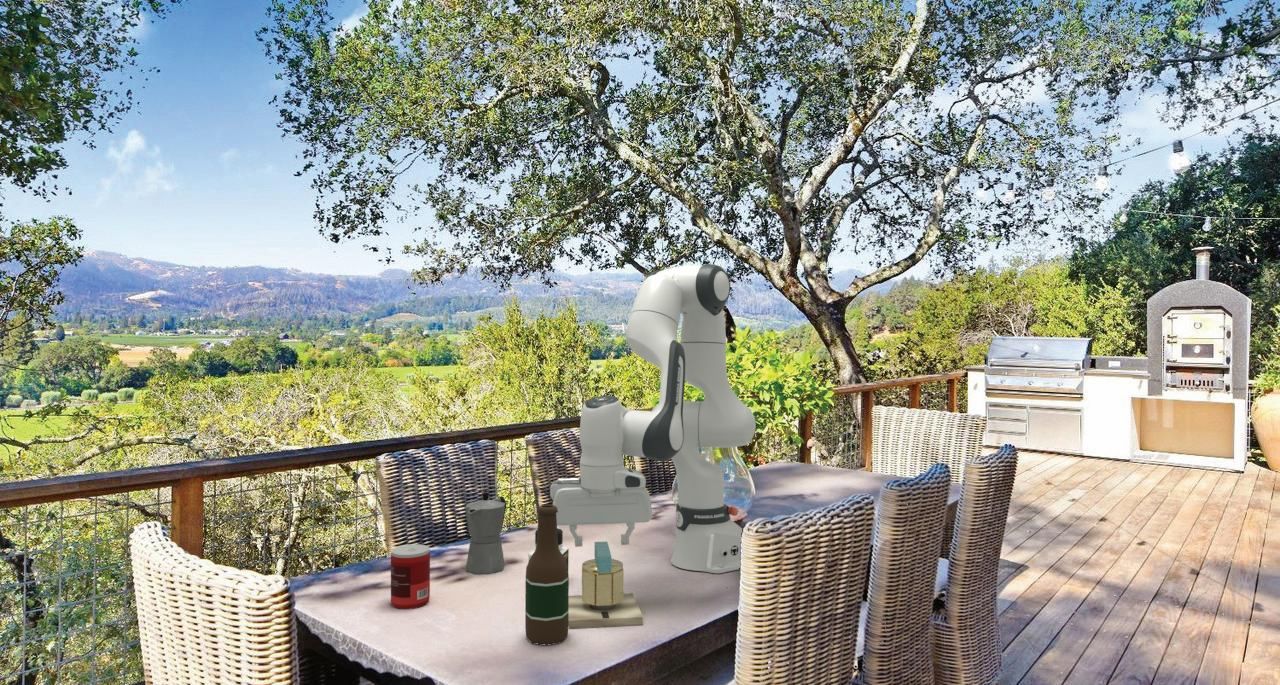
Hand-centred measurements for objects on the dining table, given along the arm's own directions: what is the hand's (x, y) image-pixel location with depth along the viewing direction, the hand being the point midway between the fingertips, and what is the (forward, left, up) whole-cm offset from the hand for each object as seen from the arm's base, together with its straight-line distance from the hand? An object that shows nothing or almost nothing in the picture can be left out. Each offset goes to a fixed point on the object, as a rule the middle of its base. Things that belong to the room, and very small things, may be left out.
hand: (601, 545), depth 161 cm
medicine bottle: (+5, -19, -13) cm, 23 cm away
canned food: (+35, -17, -13) cm, 41 cm away
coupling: (+1, +4, -9) cm, 10 cm away
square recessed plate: (+1, +4, -12) cm, 13 cm away
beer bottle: (+15, +12, -13) cm, 23 cm away
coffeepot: (+15, -35, -13) cm, 40 cm away
